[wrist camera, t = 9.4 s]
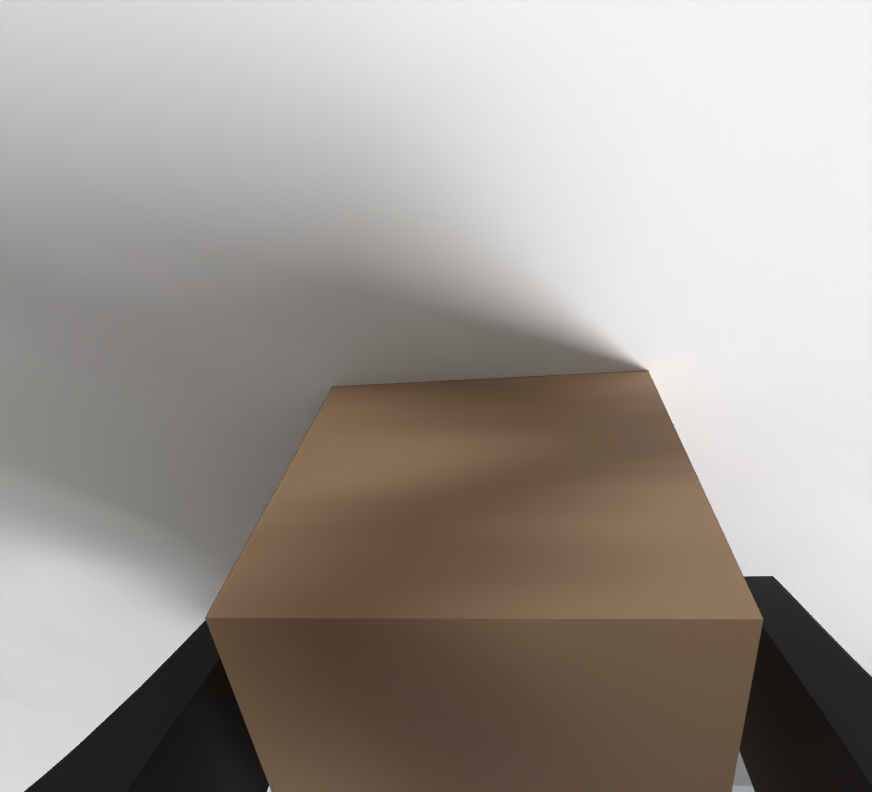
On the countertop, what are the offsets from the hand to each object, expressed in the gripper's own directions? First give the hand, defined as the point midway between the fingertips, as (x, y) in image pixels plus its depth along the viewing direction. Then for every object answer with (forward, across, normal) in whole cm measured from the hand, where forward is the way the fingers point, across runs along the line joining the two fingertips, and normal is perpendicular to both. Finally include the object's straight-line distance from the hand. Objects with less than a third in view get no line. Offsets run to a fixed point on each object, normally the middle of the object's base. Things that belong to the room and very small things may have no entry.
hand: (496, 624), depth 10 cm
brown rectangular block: (+2, 0, 0) cm, 2 cm away
